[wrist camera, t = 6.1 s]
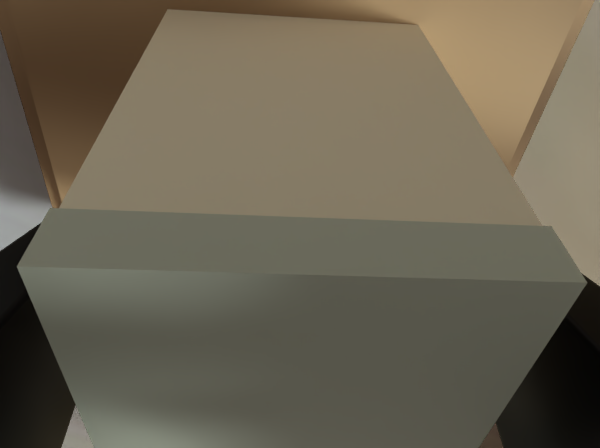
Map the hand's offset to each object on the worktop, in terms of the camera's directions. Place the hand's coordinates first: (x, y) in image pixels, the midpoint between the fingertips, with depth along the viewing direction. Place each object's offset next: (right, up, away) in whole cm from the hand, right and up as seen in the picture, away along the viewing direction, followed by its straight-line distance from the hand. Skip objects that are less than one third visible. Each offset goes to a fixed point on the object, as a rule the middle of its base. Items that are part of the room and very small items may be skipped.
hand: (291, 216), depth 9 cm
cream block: (0, +2, +2) cm, 3 cm away
